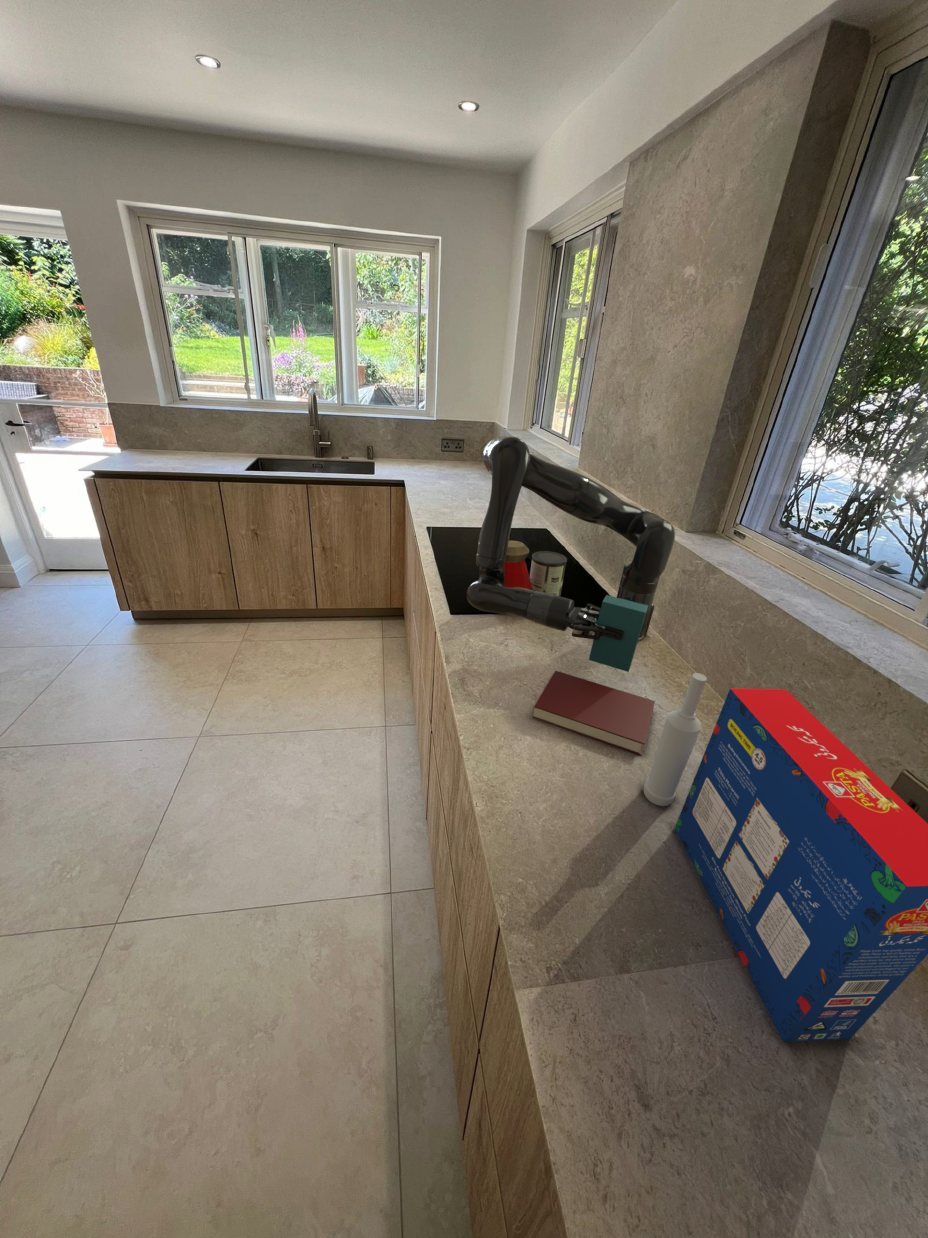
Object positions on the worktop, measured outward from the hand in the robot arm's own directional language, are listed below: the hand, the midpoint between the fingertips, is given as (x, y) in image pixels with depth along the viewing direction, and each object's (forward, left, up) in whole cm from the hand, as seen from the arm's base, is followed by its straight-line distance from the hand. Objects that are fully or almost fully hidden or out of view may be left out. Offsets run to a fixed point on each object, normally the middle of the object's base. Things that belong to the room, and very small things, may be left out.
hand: (624, 631), depth 108 cm
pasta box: (+16, +52, -14) cm, 56 cm away
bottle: (+13, +31, -14) cm, 36 cm away
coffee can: (-7, -43, -14) cm, 46 cm away
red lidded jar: (+7, -41, -14) cm, 44 cm away
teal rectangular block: (+1, -1, -8) cm, 9 cm away
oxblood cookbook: (+11, +9, -14) cm, 20 cm away
